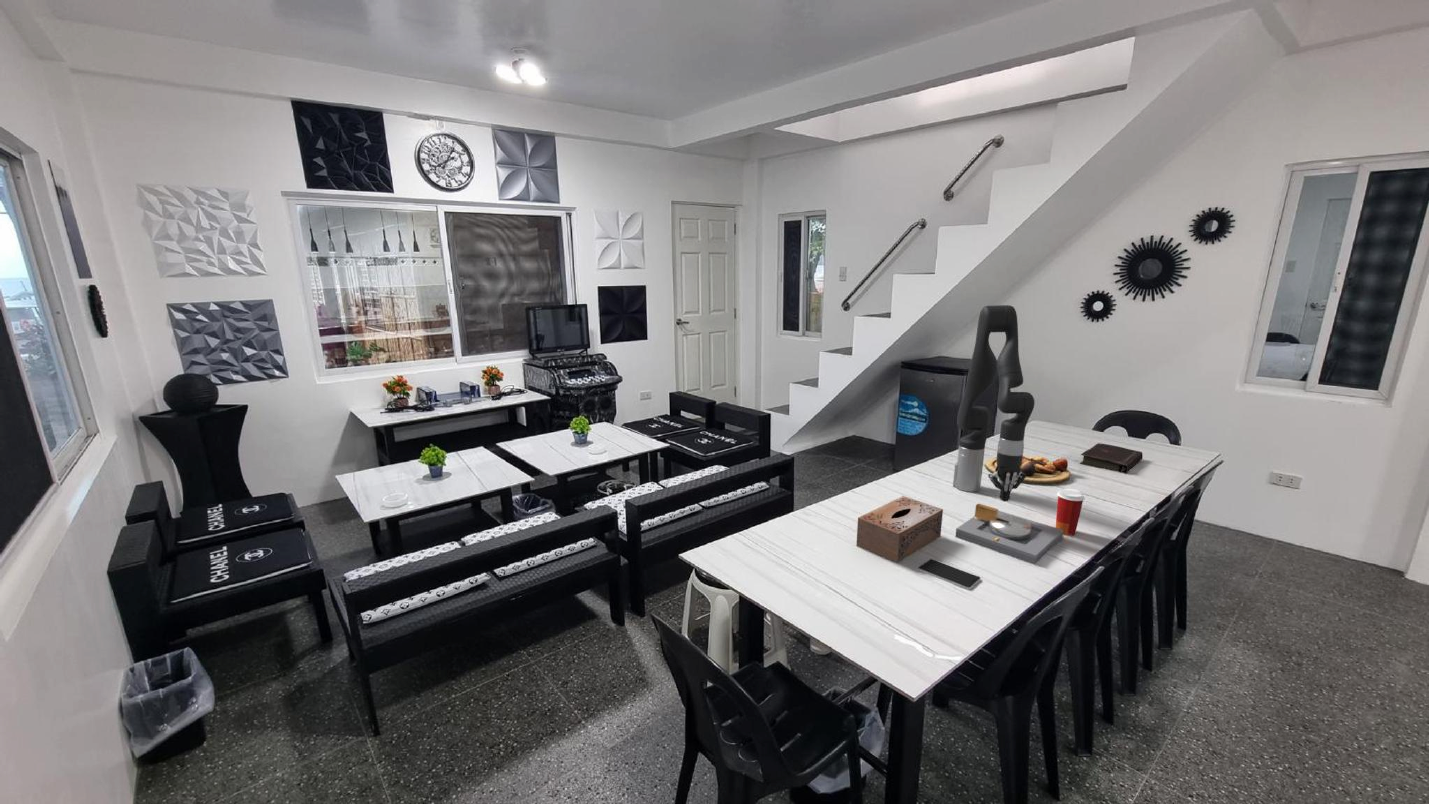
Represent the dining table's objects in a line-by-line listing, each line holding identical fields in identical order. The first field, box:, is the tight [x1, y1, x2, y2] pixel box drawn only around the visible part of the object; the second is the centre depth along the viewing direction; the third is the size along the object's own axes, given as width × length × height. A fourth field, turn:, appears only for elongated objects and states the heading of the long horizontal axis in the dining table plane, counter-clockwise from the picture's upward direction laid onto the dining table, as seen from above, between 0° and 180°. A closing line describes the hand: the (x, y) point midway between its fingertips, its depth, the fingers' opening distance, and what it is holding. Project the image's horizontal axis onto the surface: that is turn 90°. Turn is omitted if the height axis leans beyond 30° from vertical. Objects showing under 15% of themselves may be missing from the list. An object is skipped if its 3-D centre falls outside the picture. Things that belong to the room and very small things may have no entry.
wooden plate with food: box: [984, 455, 1072, 486], centre depth 241 cm, size 32×32×8 cm
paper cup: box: [1055, 488, 1086, 537], centre depth 186 cm, size 8×8×14 cm
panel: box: [955, 510, 1064, 565], centre depth 184 cm, size 24×24×3 cm
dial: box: [974, 503, 1032, 540], centre depth 185 cm, size 17×12×6 cm
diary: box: [1079, 442, 1144, 475], centre depth 252 cm, size 19×25×5 cm
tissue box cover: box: [855, 495, 944, 564], centre depth 181 cm, size 26×14×10 cm, turn 131°
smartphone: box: [917, 558, 981, 591], centre depth 163 cm, size 8×1×15 cm
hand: (1004, 500), depth 190 cm, fingers closed
